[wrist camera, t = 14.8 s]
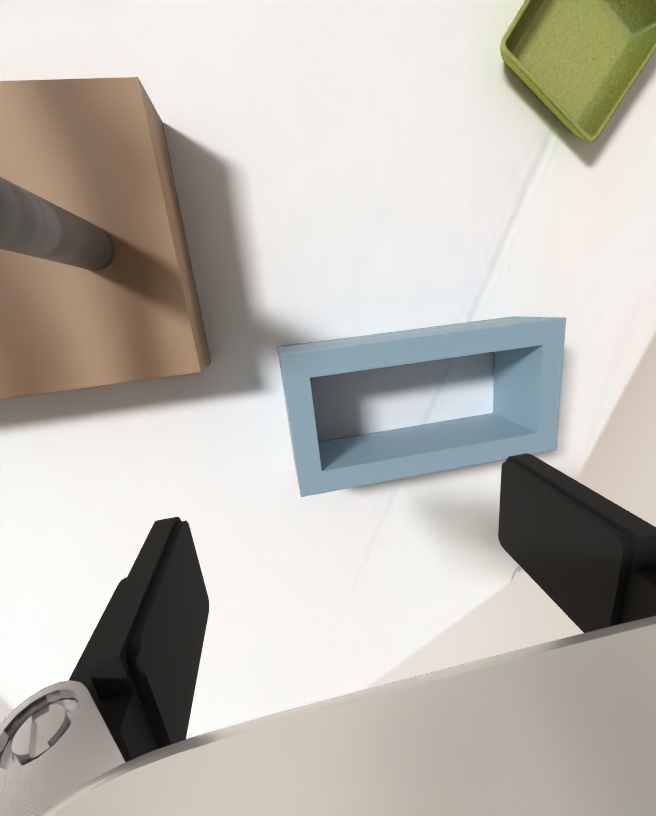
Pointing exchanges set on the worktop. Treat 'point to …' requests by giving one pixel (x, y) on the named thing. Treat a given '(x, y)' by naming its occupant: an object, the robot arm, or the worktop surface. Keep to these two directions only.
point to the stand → (90, 241)
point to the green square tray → (581, 55)
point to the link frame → (437, 442)
